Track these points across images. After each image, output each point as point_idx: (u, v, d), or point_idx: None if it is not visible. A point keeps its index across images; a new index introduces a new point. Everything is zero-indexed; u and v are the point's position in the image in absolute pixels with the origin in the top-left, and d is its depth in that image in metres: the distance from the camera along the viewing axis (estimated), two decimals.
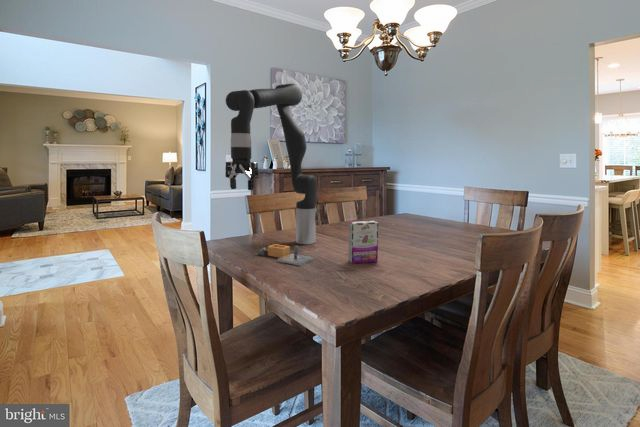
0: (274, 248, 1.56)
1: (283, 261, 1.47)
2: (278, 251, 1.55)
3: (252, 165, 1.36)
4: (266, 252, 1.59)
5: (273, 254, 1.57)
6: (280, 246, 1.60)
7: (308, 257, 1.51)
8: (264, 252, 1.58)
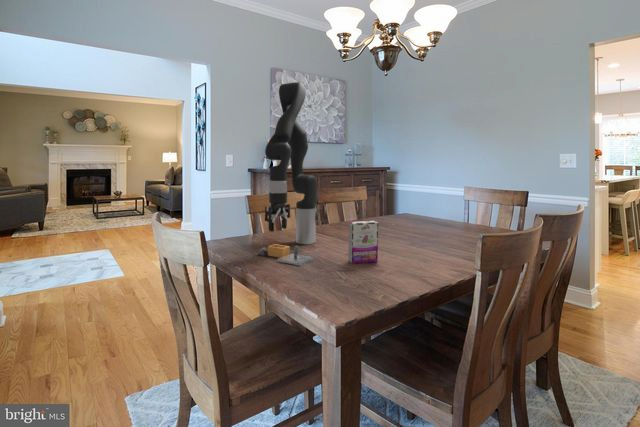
0: (274, 248, 1.56)
1: (283, 261, 1.47)
2: (278, 251, 1.55)
3: (289, 207, 1.60)
4: (266, 252, 1.59)
5: (273, 254, 1.57)
6: (280, 246, 1.60)
7: (308, 257, 1.51)
8: (264, 252, 1.58)
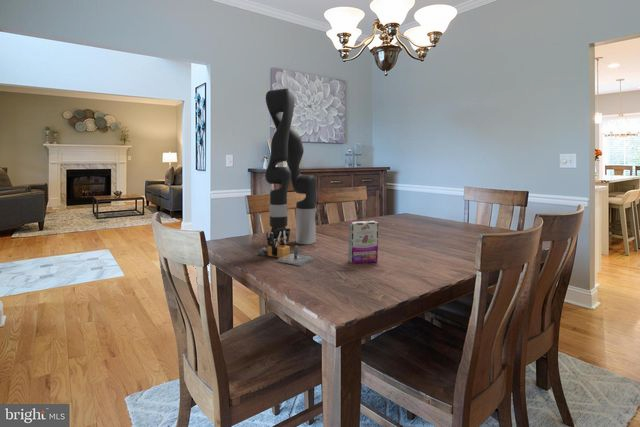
0: None
1: (283, 261, 1.47)
2: (278, 251, 1.55)
3: (289, 231, 1.62)
4: (266, 252, 1.59)
5: None
6: (280, 246, 1.60)
7: (308, 257, 1.51)
8: (264, 252, 1.58)
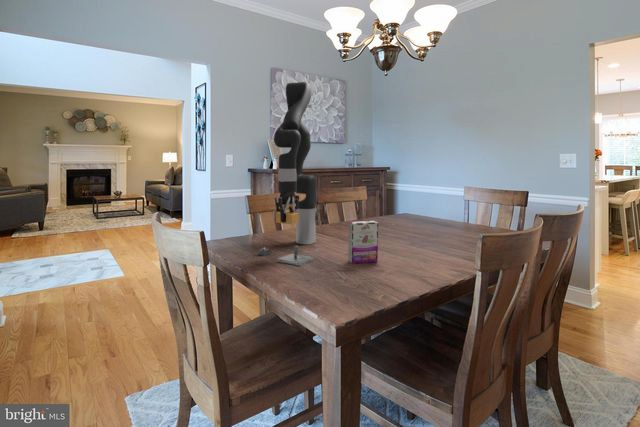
0: None
1: (283, 261, 1.47)
2: (287, 217, 1.50)
3: (298, 198, 1.56)
4: (266, 252, 1.59)
5: None
6: (289, 213, 1.54)
7: (308, 257, 1.51)
8: (264, 252, 1.58)
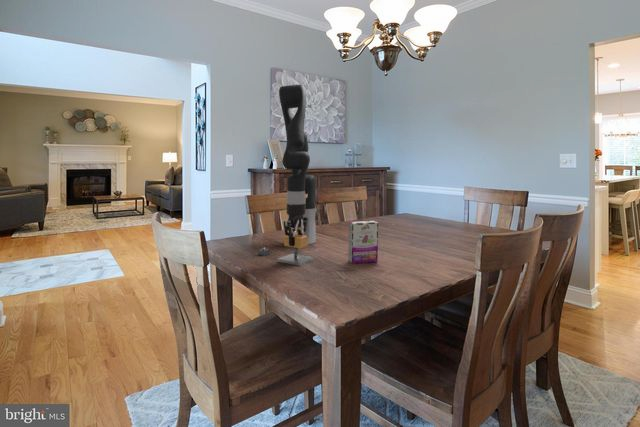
0: None
1: (283, 261, 1.47)
2: (295, 241, 1.46)
3: (306, 220, 1.53)
4: (266, 252, 1.59)
5: None
6: (297, 236, 1.51)
7: (308, 257, 1.51)
8: (264, 252, 1.58)
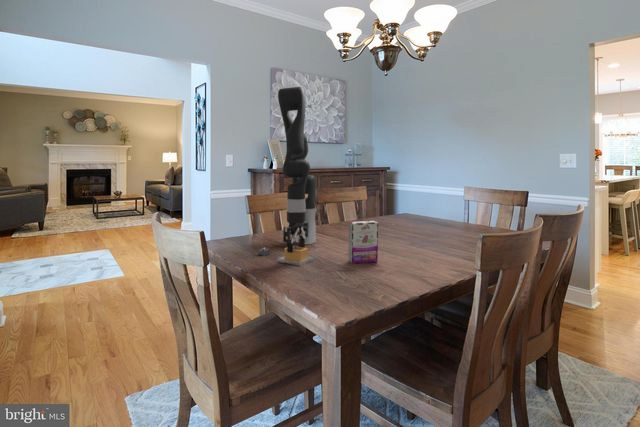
0: None
1: (283, 261, 1.47)
2: (296, 253, 1.47)
3: (307, 225, 1.53)
4: (266, 252, 1.59)
5: (290, 256, 1.48)
6: None
7: (308, 257, 1.51)
8: (264, 252, 1.58)
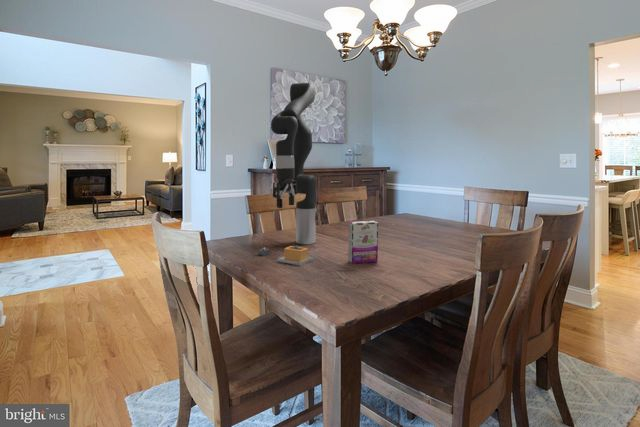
0: (291, 250, 1.48)
1: (283, 261, 1.47)
2: (296, 253, 1.47)
3: (296, 183, 1.57)
4: (266, 252, 1.59)
5: (290, 256, 1.48)
6: None
7: (308, 257, 1.51)
8: (264, 252, 1.58)
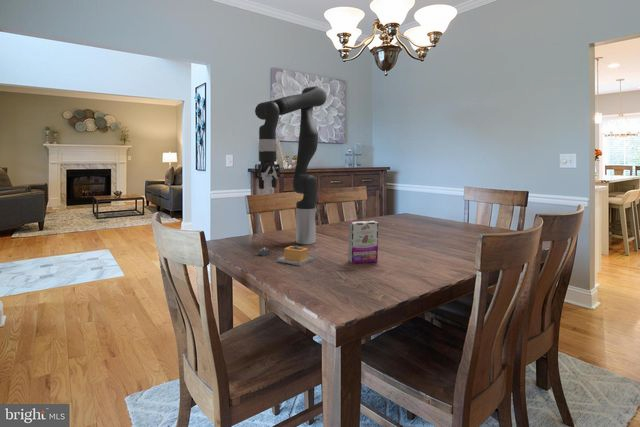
0: (291, 250, 1.48)
1: (283, 261, 1.47)
2: (296, 253, 1.47)
3: (278, 166, 1.65)
4: (266, 252, 1.59)
5: (290, 256, 1.48)
6: None
7: (308, 257, 1.51)
8: (264, 252, 1.58)
